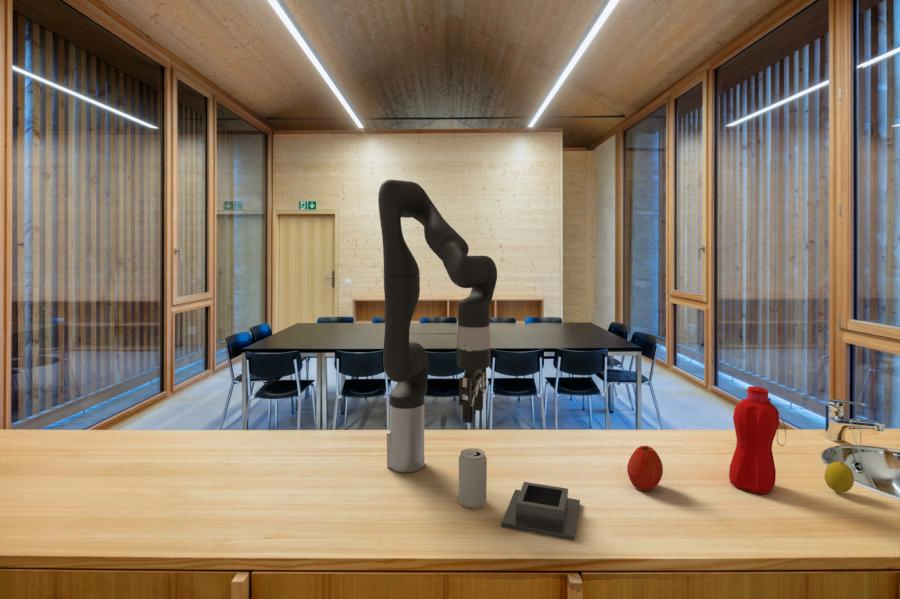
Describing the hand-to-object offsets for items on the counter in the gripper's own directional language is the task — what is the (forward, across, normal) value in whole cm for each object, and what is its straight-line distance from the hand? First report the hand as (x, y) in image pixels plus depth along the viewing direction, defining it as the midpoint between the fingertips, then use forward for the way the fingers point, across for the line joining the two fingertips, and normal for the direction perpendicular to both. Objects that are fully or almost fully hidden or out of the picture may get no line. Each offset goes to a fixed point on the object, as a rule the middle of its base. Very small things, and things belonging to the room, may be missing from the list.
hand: (473, 416), depth 111 cm
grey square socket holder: (+21, 0, +16) cm, 26 cm away
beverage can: (+21, 0, 0) cm, 21 cm away
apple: (+21, -21, +38) cm, 48 cm away
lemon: (+21, -33, +82) cm, 91 cm away
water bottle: (+21, -30, +64) cm, 74 cm away
